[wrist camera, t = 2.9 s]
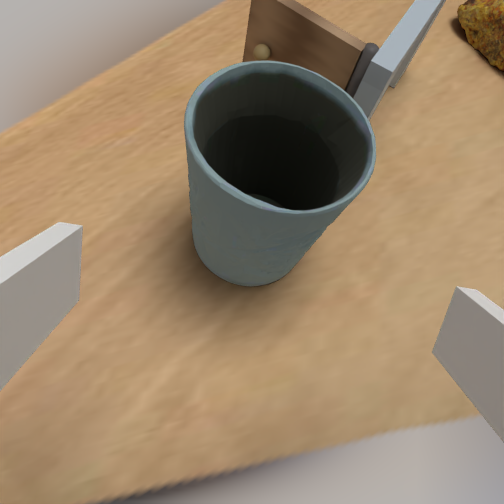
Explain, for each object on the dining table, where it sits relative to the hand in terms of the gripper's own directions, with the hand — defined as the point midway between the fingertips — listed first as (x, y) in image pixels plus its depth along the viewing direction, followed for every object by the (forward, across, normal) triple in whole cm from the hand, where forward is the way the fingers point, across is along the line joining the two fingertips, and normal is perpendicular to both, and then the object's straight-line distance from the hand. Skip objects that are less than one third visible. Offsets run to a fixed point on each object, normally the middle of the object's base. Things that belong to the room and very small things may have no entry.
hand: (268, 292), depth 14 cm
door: (+26, +2, +6) cm, 27 cm away
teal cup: (+18, 0, -3) cm, 18 cm away
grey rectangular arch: (+28, +10, +8) cm, 30 cm away
